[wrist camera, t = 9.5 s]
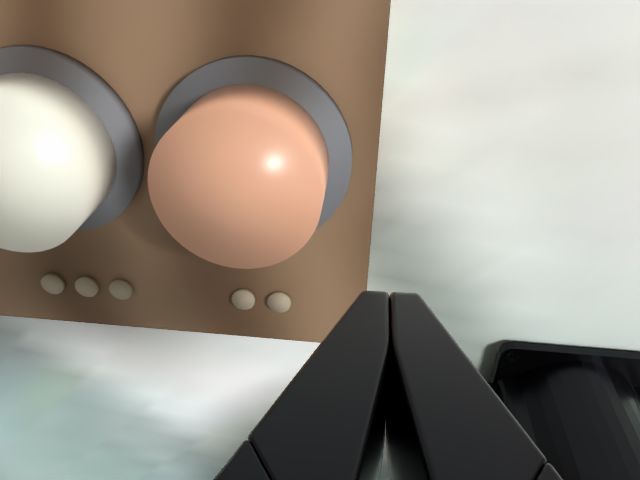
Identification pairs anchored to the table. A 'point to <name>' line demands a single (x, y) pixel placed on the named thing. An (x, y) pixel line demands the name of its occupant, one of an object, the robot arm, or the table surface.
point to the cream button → (49, 162)
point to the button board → (160, 115)
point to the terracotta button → (241, 177)
